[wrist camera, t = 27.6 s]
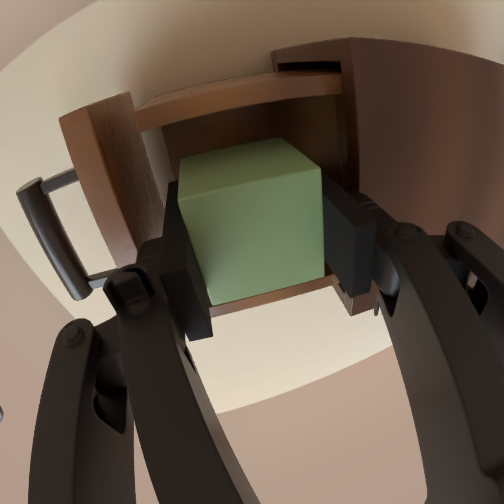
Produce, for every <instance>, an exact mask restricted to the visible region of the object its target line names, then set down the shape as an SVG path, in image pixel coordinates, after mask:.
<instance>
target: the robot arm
mask: <svg viewBox="0 0 504 504" xmlns="http://www.w3.org/2000/svg"><path fill="white" fill-rule="evenodd" d="M321 179H322V200H323V224H324V259H325V260H326V262H327V263H328V265H329V267H330V268H331V270H332V271H333V273H334V274H335V276H336V277H337V279H338V281H339V282H340V284H341V285H342V287H343V288H344V290H345V292H346V293H347V295H348V296H349V298H350V299H351V298H354V297H357V296H360V295H363V294H366V293H369V292H370V290H371V283H372V279H373V281H374V282H375V283H376V285H377V286H378V291H377V297H376V303H375V308H374V316H376V315H378V311H379V307H380V309H381V311H382V315H383V317H384V320H385V323H386V326H387V329H388V332H389V335H390V338H391V341H392V344H393V347H394V350H395V353H396V356H397V360H398V363H399V367H400V370H401V374H402V377H403V381H404V384H405V388H406V391H407V395H408V398H409V403H410V407H411V411H412V415H413V419H414V423H415V428H416V432H417V436H418V441H419V446H420V451H421V456H422V461H423V467H424V473H425V478H426V485H427V499H426V501H425V504H504V250H503V249H502V248H501V247H500V246H498V245H497V244H496V243H495V242H494V241H493V240H491V239H490V238H489V237H488V236H487V235H485V234H484V233H483V232H482V231H481V230H479V229H478V228H477V227H475V226H474V225H472V224H470V223H467V222H466V221H452V222H450V223H449V224H448V225H447V228H446V233H445V235H427V233H426V232H425V231H424V230H423V229H422V228H421V227H419V226H417V225H415V224H412V223H407V222H397V221H396V220H395V219H394V218H392V217H391V216H390V215H389V214H388V213H387V212H386V211H385V210H383V209H382V208H380V206H379V205H378V204H376V203H375V202H374V201H373V200H372V199H371V198H369V197H368V196H367V195H365V194H363V193H361V192H358V191H356V190H354V191H349V192H346V191H345V190H344V189H343V188H341V187H340V186H339V185H338V184H337V183H336V182H335V181H333V180H332V179H331V178H330V177H329V176H327V175H326V174H325V173H324V172H323V171H322V170H321ZM178 187H179V180H177V181H173V182H169V186H168V193H167V200H166V207H165V215H164V223H163V232H162V237H158V238H155V239H151V240H147V241H144V243H143V244H142V245H141V247H140V248H139V250H138V252H137V257H136V262H135V264H129V265H126V266H123V267H121V268H119V269H117V270H116V271H114V272H113V273H112V274H111V275H110V276H109V277H108V278H107V280H106V281H105V282H104V286H103V291H104V293H105V294H106V296H107V298H108V299H109V301H110V303H111V304H112V306H113V308H114V309H115V311H116V313H117V315H116V316H114V317H113V318H111V319H109V320H107V321H105V322H103V323H101V324H99V325H97V326H95V327H94V326H93V324H92V323H91V322H90V321H89V320H87V319H85V318H81V319H76V320H73V321H71V322H70V323H68V324H67V325H66V326H64V327H63V329H62V330H61V331H60V332H59V334H58V336H57V338H56V341H55V344H54V347H53V351H52V354H51V358H50V362H49V365H48V369H47V373H46V377H45V381H44V386H43V390H42V394H41V399H40V404H39V409H38V414H37V420H36V425H35V431H34V438H33V445H32V453H31V462H30V474H29V489H28V490H29V492H28V504H136V494H135V476H134V421H135V425H136V429H137V433H138V437H139V441H140V444H141V448H142V452H143V455H144V459H145V462H146V466H147V468H148V472H149V475H150V478H151V481H152V484H153V487H154V490H155V493H156V496H157V499H158V501H159V504H261V503H260V502H259V500H258V498H257V496H256V495H255V493H254V491H253V489H252V487H251V485H250V483H249V482H248V480H247V478H246V476H245V474H244V472H243V470H242V468H241V466H240V464H239V462H238V460H237V458H236V456H235V454H234V452H233V450H232V448H231V446H230V444H229V442H228V440H227V438H226V436H225V433H224V431H223V429H222V427H221V425H220V423H219V420H218V418H217V416H216V414H215V411H214V409H213V407H212V405H211V402H210V400H209V398H208V395H207V393H206V390H205V388H204V386H203V383H202V381H201V378H200V376H199V373H198V371H197V368H196V366H195V363H194V361H193V358H192V356H191V353H190V351H189V349H188V347H187V346H186V342H185V333H186V335H187V337H188V339H189V341H195V340H200V339H204V338H208V337H213V332H212V325H211V317H210V310H209V302H208V295H207V288H206V285H205V282H204V279H203V276H202V273H201V271H200V268H199V265H198V262H197V259H196V256H195V253H194V250H193V246H192V243H191V240H190V237H189V234H188V231H187V228H186V225H185V224H184V220H183V217H182V214H181V211H180V208H179V204H178ZM471 273H473V274H474V275H475V276H476V277H477V281H476V283H475V286H474V288H472V287H470V286H469V285H468V282H469V279H470V276H471Z"/></svg>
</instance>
